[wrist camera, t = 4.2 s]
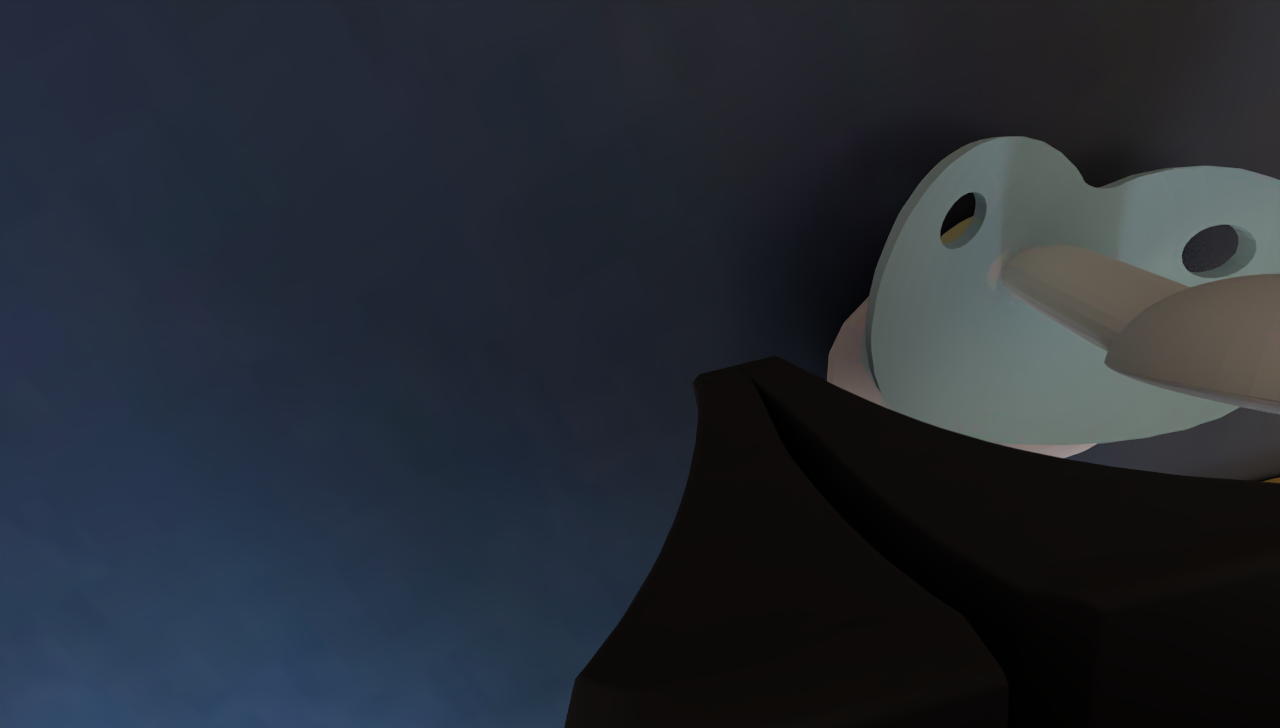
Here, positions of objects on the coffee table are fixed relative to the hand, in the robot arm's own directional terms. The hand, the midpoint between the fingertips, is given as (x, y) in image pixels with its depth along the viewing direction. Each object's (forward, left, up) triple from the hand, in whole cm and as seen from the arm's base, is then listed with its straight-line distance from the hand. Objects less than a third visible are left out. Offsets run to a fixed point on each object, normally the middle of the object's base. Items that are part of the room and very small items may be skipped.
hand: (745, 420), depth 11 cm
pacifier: (+5, 0, -2) cm, 5 cm away
